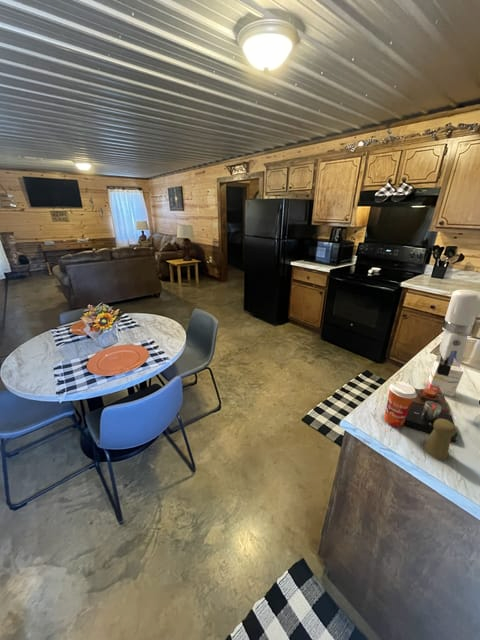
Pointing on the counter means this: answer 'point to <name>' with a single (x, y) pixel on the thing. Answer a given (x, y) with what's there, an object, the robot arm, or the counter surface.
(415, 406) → the panel
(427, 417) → the knob
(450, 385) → the ink cartridge box
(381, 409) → the counter surface
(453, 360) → the robot arm
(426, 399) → the button block
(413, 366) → the counter surface
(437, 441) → the cork
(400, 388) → the paper cup
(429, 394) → the button
